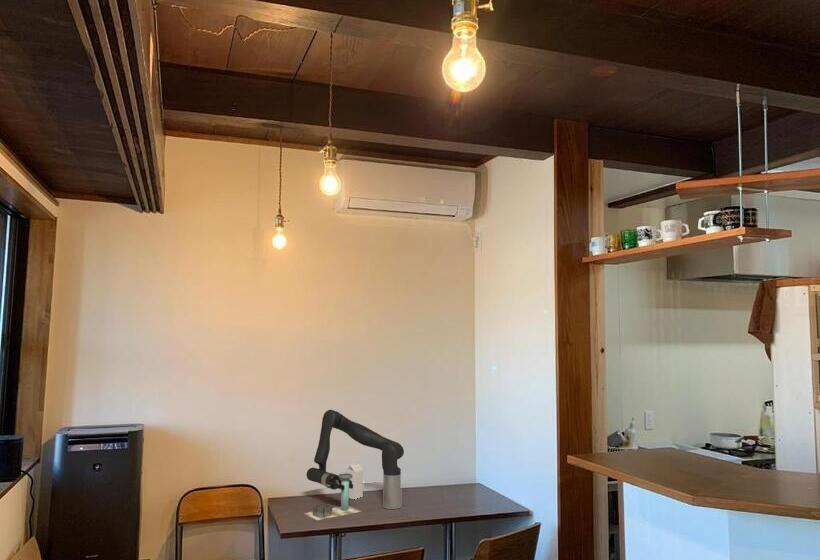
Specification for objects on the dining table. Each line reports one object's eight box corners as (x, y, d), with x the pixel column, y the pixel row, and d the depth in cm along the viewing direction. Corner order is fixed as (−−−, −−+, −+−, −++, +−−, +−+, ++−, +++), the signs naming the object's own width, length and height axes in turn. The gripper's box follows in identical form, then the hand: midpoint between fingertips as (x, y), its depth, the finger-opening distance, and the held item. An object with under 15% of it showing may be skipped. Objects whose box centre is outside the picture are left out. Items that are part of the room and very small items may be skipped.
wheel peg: (346, 506, 315) (347, 472, 316) (354, 509, 309) (354, 475, 311) (335, 509, 311) (336, 474, 312) (342, 512, 305) (343, 477, 307)
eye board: (347, 508, 319) (347, 497, 319) (362, 514, 308) (362, 503, 308) (303, 516, 303) (303, 505, 304) (316, 523, 292) (317, 511, 293)
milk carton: (362, 497, 341) (363, 462, 343) (354, 499, 335) (355, 464, 337) (352, 495, 345) (353, 461, 347) (344, 497, 339) (345, 463, 341)
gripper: (319, 475, 318) (336, 481, 305) (342, 471, 327) (360, 477, 313) (319, 489, 318) (335, 496, 304) (342, 486, 326) (359, 492, 313)
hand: (348, 487), depth 309 cm, fingers open, 4 cm apart
